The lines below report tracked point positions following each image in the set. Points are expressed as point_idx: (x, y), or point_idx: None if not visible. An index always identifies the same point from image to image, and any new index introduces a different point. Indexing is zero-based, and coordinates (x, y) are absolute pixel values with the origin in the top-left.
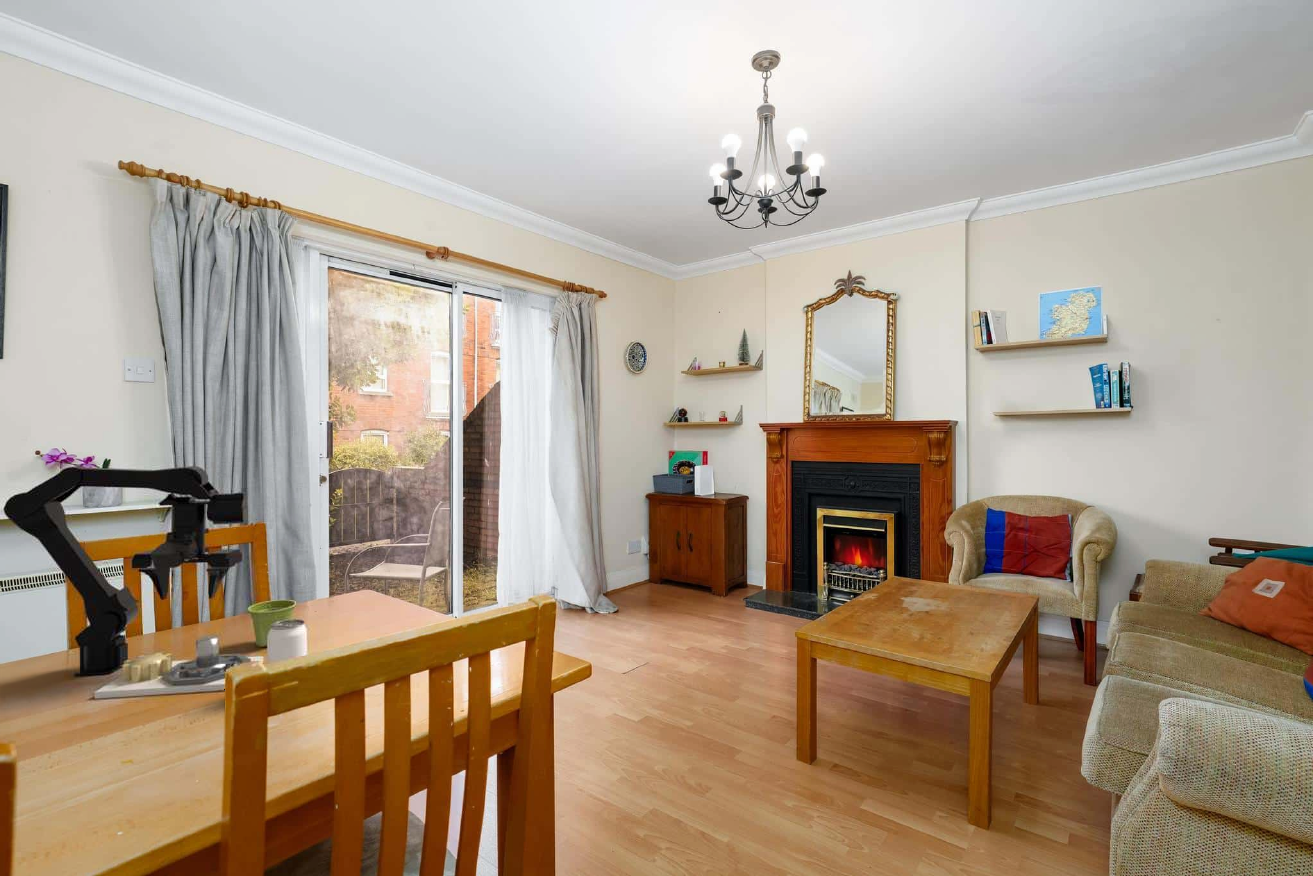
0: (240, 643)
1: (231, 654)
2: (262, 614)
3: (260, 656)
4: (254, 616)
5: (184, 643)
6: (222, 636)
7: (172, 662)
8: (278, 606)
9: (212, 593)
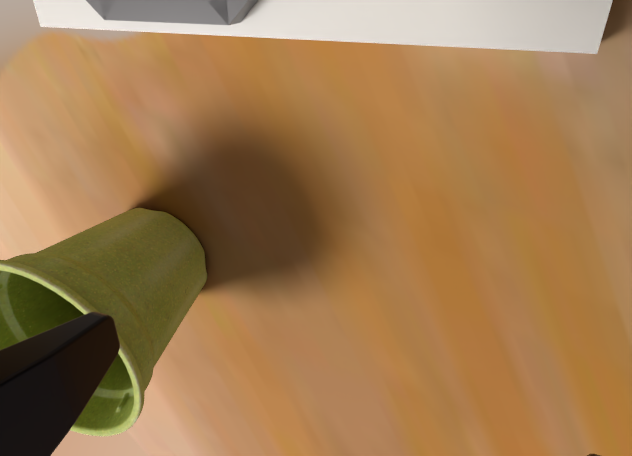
0: (275, 286)
1: (132, 13)
2: (29, 265)
3: (47, 23)
4: (87, 281)
5: (509, 365)
6: (383, 387)
7: (424, 20)
8: (95, 400)
9: (36, 341)
